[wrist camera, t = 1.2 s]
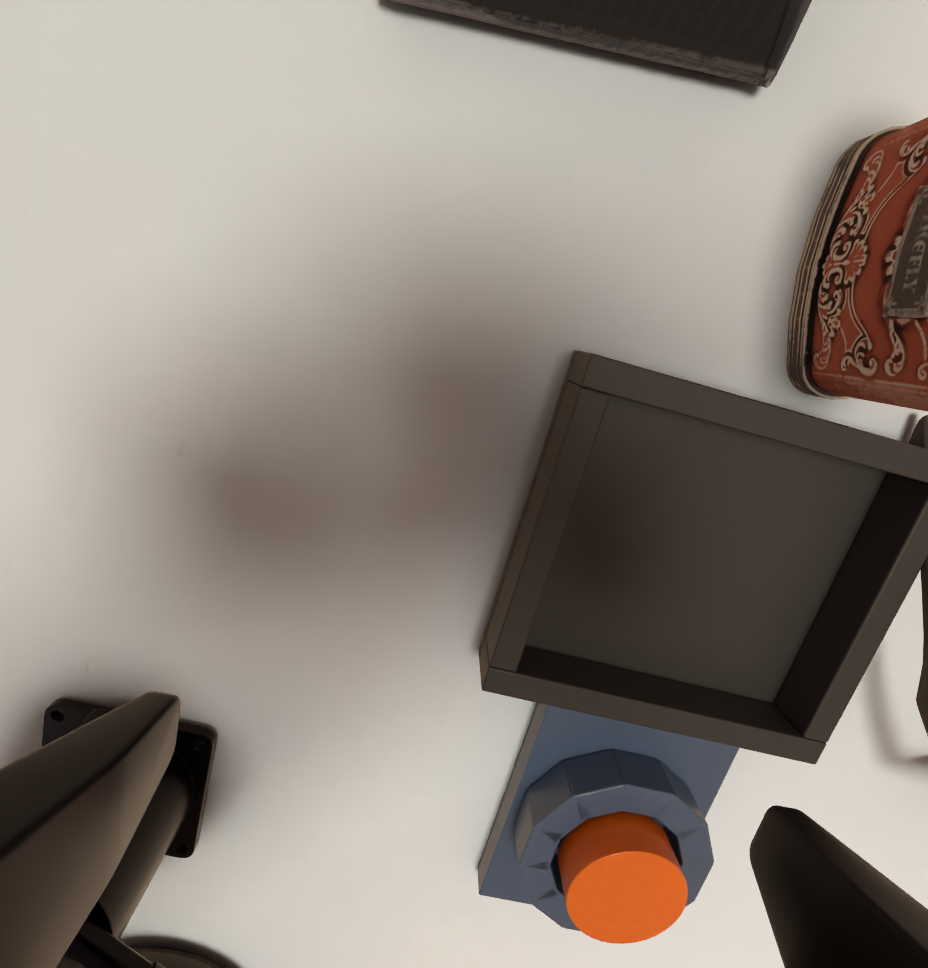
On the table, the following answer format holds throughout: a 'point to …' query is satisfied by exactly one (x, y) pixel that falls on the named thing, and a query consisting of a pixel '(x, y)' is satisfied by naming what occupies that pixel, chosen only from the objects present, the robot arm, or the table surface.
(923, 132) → the lighter
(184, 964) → the supplement container
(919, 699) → the sunglasses
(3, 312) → the table surface
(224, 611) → the table surface
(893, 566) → the holder
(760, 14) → the hard drive
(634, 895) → the test button
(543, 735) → the box
